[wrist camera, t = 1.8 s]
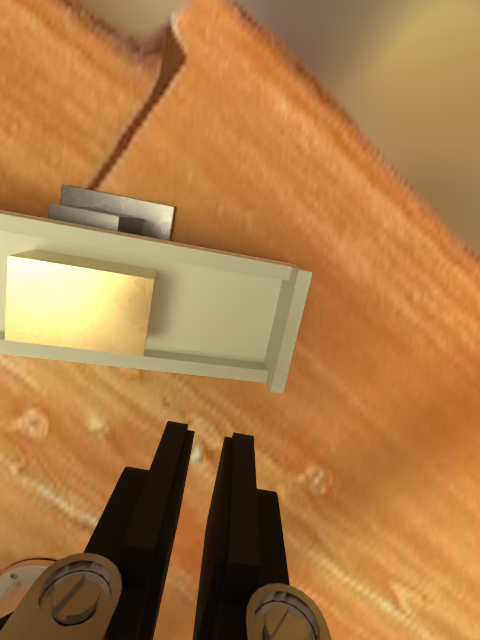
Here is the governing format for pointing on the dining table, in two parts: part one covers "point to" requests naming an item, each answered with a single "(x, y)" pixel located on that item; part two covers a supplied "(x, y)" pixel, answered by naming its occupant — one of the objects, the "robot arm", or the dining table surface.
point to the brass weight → (78, 302)
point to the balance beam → (179, 302)
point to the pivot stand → (113, 213)
